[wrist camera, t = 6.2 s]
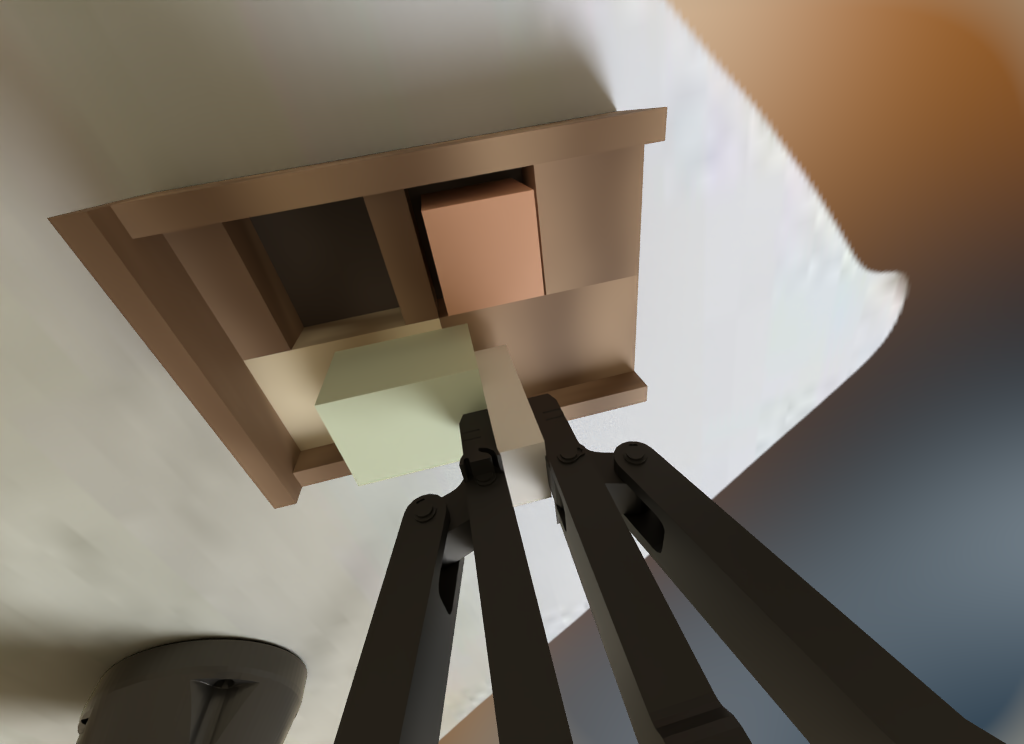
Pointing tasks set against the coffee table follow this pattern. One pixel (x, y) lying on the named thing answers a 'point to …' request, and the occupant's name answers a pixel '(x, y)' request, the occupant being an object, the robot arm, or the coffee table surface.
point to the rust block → (484, 244)
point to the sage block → (401, 402)
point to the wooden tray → (372, 279)
